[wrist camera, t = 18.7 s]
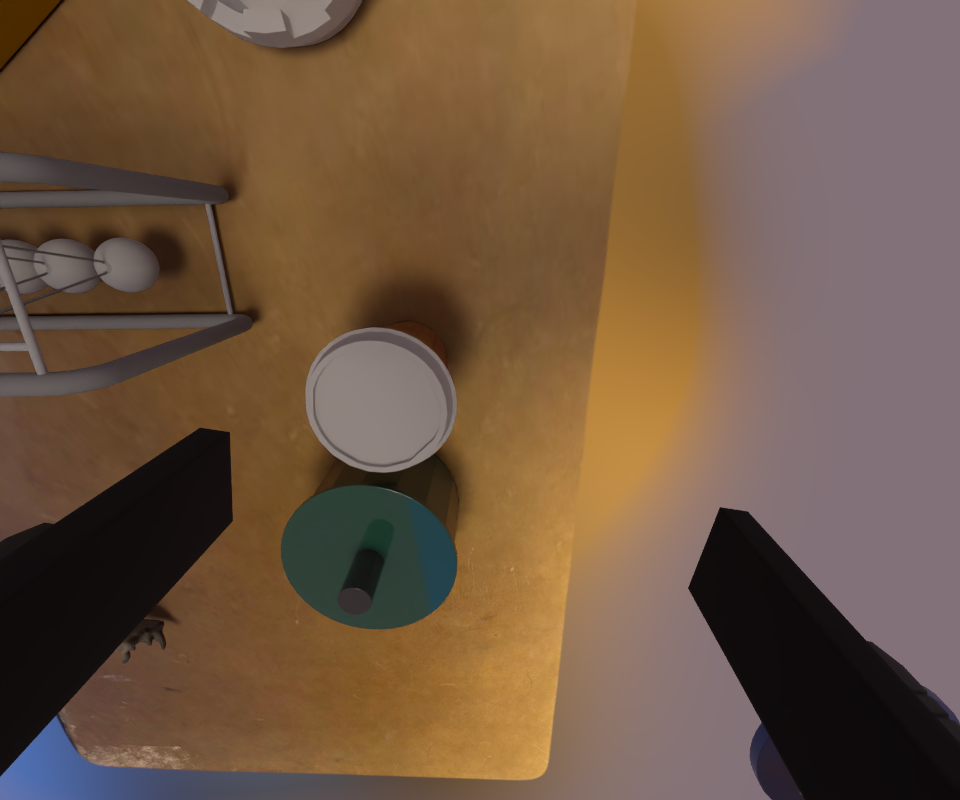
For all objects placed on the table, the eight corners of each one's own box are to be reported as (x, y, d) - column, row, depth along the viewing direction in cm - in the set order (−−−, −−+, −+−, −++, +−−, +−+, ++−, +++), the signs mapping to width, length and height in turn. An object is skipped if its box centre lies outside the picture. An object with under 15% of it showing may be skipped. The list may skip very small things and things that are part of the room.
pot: (468, 450, 42) (462, 502, 34) (448, 561, 46) (439, 630, 38) (330, 427, 41) (292, 475, 33) (323, 541, 46) (287, 607, 38)
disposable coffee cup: (376, 421, 41) (332, 493, 30) (337, 318, 38) (271, 355, 27) (478, 395, 40) (473, 460, 29) (447, 287, 37) (428, 313, 25)
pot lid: (471, 493, 34) (467, 536, 29) (444, 629, 39) (438, 686, 34) (288, 463, 34) (255, 502, 29) (284, 605, 38) (255, 659, 34)
